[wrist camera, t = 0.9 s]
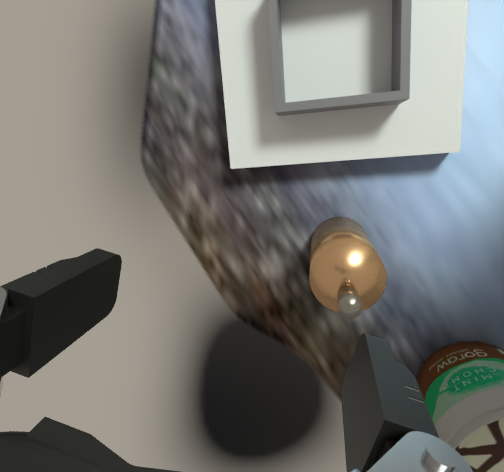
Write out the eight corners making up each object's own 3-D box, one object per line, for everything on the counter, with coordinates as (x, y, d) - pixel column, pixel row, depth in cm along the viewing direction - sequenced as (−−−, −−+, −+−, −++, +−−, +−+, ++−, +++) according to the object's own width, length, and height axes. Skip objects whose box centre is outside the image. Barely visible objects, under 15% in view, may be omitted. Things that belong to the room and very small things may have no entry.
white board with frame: (462, -97, 25) (497, -154, 20) (450, 151, 29) (477, 152, 24) (216, -48, 28) (196, -88, 23) (235, 167, 32) (221, 171, 27)
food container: (493, 303, 31) (572, 372, 21) (534, 354, 32) (629, 444, 22) (375, 372, 35) (398, 457, 25) (414, 417, 35) (450, 518, 26)
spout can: (367, 215, 31) (393, 250, 21) (367, 269, 32) (392, 328, 22) (310, 218, 32) (307, 252, 22) (312, 270, 33) (310, 327, 23)
